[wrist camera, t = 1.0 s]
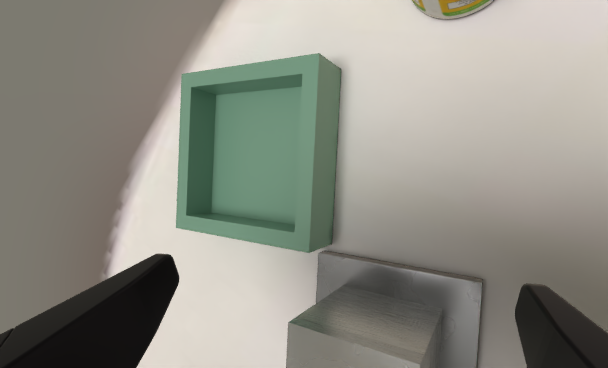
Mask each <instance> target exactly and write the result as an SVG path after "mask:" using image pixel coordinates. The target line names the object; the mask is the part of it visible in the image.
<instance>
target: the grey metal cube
mask: <svg viewBox="0 0 608 368" xmlns="http://www.w3.org/2000/svg"><path fill="white" fill-rule="evenodd" d="M441 324H442V309H441V308H436V307H432V306H428V305H423V304H419V303H415V302H411V301H406V300H402V299H398V298H393V297H389V296H385V295H380V294H376V293H372V292H367V291H363V290H359V289H355V288H350V287H346V286H341V287H340V288H338V289H337V290H335V291H334V292H332V293H331V294H329V295H328V296H326V297H325V298H323V299H322V300H321V301H319V302H318V303H316V304H315V305H313V306H312V307H310V308H309V309H307V310H306V311H304V312H303V313H302V314H300V315H299V316H297V317H296V318H294V319H293V320H291V321H290V322H288V339H287V359H286V368H439V354H440V339H441Z"/></svg>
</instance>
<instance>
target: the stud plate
mask: <svg viewBox="0 0 608 368" xmlns="http://www.w3.org/2000/svg"><path fill="white" fill-rule="evenodd" d="M482 281H483V279H479V278H474V277H468V276H462V275H457V274H451V273H446V272H440V271H435V270H429V269H424V268H418V267H413V266H407V265H401V264H396V263H390V262H385V261H379V260H374V259H368V258H363V257H357V256H352V255H346V254H341V253H335V252H329V251H322V252H320V253H319V254H318V273H317V292H316V303H318V302H319V301H321V300H322V299H323V298H325V297H326V296H328V295H329V294H331V293H332V292H334V291H335V290H337V289H338V288H340V287H341V286H346V287H350V288H355V289H359V290H363V291H367V292H372V293H376V294H380V295H385V296H389V297H393V298H398V299H402V300H406V301H411V302H415V303H419V304H423V305H428V306H432V307H436V308H441V309H442V324H441V339H440V354H439V368H476V366H477V351H478V337H479V323H480V309H481V295H482Z"/></svg>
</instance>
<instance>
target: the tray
mask: <svg viewBox="0 0 608 368" xmlns="http://www.w3.org/2000/svg"><path fill="white" fill-rule="evenodd" d="M340 82H341V69H340V68H339V67H337V66H336V65H334V64H333V63H332V62H330V61H329V60H328V59H326V58H325V57H324V56H322V55H321V54H320V53H318V54H311V55H304V56H298V57H291V58H285V59H278V60H271V61H265V62H258V63H252V64H245V65H238V66H232V67H225V68H219V69H212V70H205V71H199V72H192V73H186V74H182V81H181V108H180V135H179V161H178V188H177V215H176V228H180V229H185V230H191V231H196V232H201V233H207V234H212V235H217V236H222V237H228V238H233V239H238V240H244V241H249V242H254V243H260V244H265V245H270V246H275V247H281V248H286V249H291V250H297V251H302V252H307V253H310V252H312V251H315V250H318V249H320V248H323V247H325V246H328V245H331V244H332V230H333V211H334V193H335V174H336V156H337V137H338V119H339V100H340Z"/></svg>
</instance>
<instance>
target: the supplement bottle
mask: <svg viewBox="0 0 608 368" xmlns="http://www.w3.org/2000/svg"><path fill="white" fill-rule="evenodd" d="M492 1H494V0H412V2H413V3H414V4H415V6H416V7H417V8H418V9H419V10H421V11H422V12H423V13H425V14H427V15H429V16H431V17H435V18H440V19H454V18H459V17H464V16H467V15H469V14H472V13H474V12H477V11H479V10H480V9H482V8H484V7H485V6H487V5H488V4H490V3H491V2H492Z"/></svg>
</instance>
